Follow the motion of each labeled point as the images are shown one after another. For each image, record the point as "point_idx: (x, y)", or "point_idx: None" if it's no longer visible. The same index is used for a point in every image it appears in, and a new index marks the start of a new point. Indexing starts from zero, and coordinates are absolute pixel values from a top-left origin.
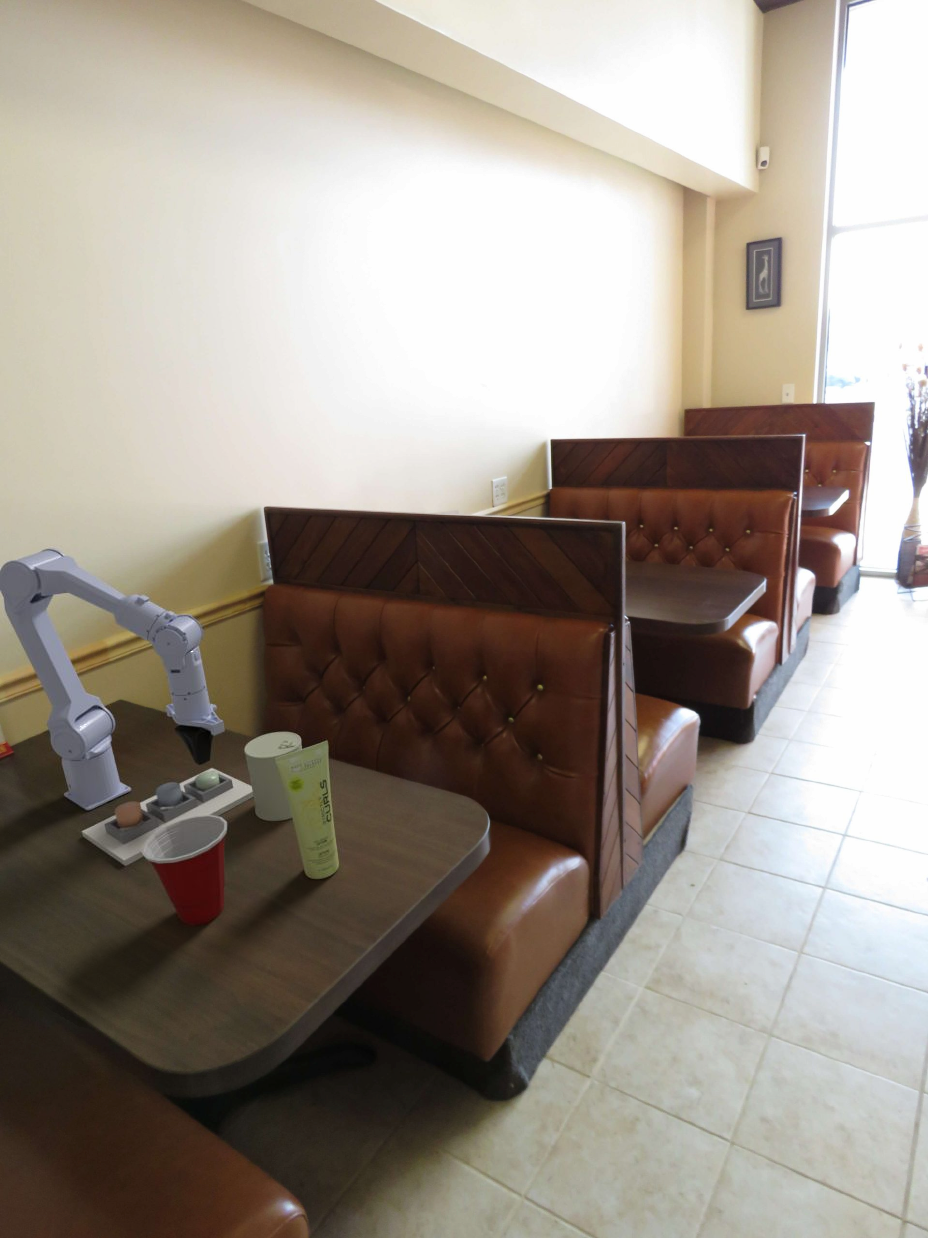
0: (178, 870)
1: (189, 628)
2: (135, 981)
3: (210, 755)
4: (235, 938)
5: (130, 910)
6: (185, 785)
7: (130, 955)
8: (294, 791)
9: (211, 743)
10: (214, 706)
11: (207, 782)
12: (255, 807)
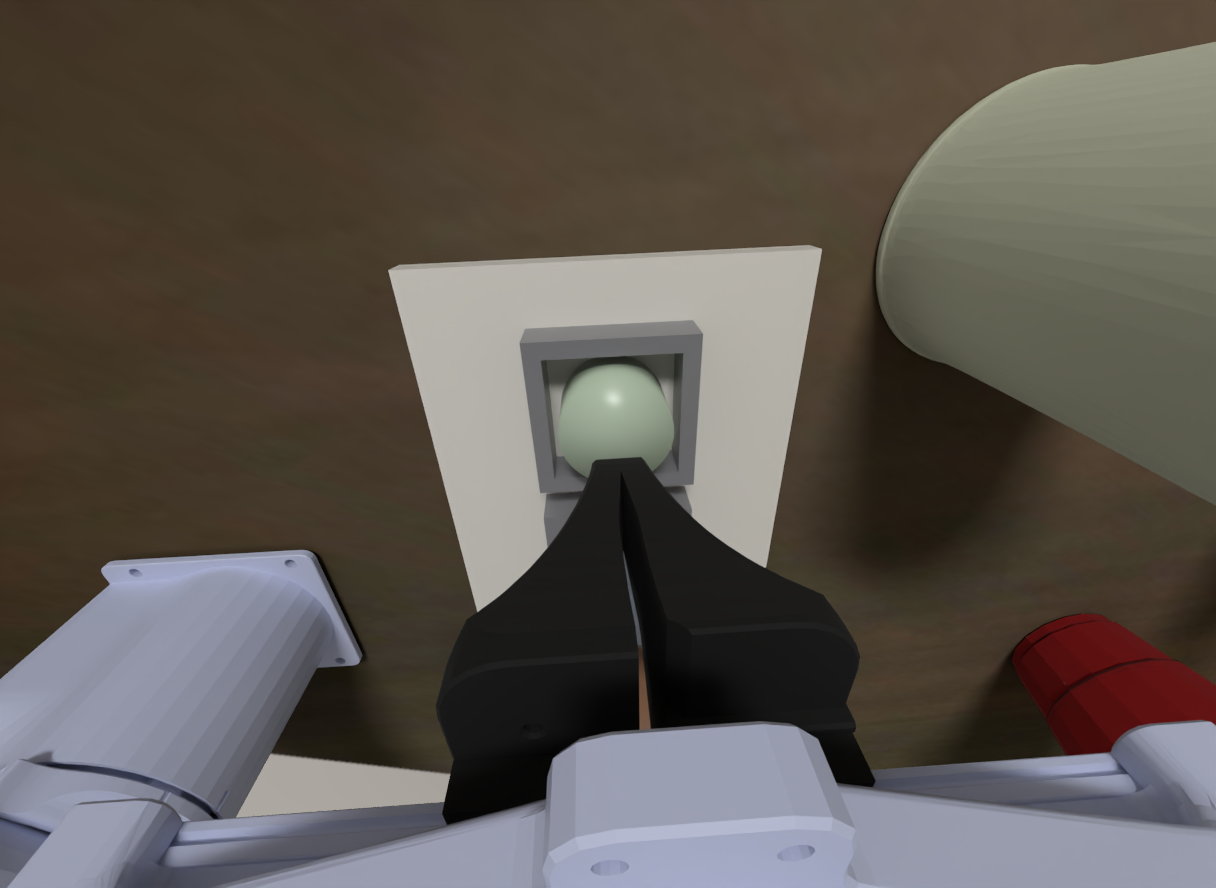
0: None
1: None
2: (1048, 747)
3: (646, 466)
4: (1193, 641)
5: (890, 709)
6: (550, 490)
7: (992, 737)
8: None
9: (691, 516)
10: (830, 855)
11: (665, 454)
12: (943, 362)
